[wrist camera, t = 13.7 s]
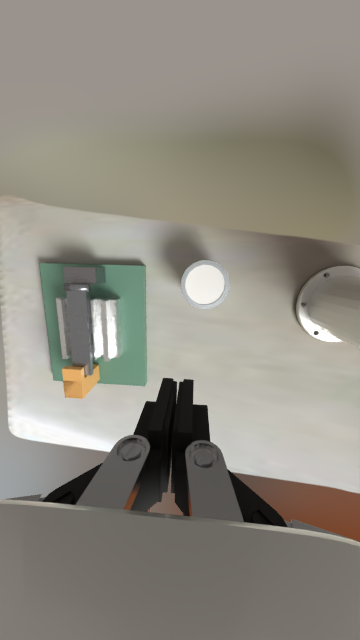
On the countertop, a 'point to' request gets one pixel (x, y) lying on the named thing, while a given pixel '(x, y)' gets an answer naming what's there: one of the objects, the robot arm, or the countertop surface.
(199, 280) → the white grey cylinder
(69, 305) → the strap
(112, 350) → the heat sink
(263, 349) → the countertop surface
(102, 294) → the circuit board
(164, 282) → the countertop surface
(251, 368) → the countertop surface
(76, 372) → the block
